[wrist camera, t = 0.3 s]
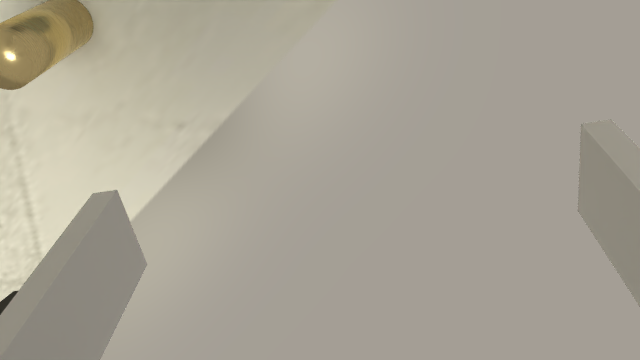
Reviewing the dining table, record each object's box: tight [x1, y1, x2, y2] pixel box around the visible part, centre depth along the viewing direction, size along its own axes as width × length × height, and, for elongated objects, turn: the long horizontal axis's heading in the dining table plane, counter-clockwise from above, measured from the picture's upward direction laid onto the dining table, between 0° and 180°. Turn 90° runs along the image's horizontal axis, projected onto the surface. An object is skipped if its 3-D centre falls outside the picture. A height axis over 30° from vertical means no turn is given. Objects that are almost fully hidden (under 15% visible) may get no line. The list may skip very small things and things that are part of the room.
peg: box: [0, 0, 93, 90], centre depth 37 cm, size 4×4×9 cm
